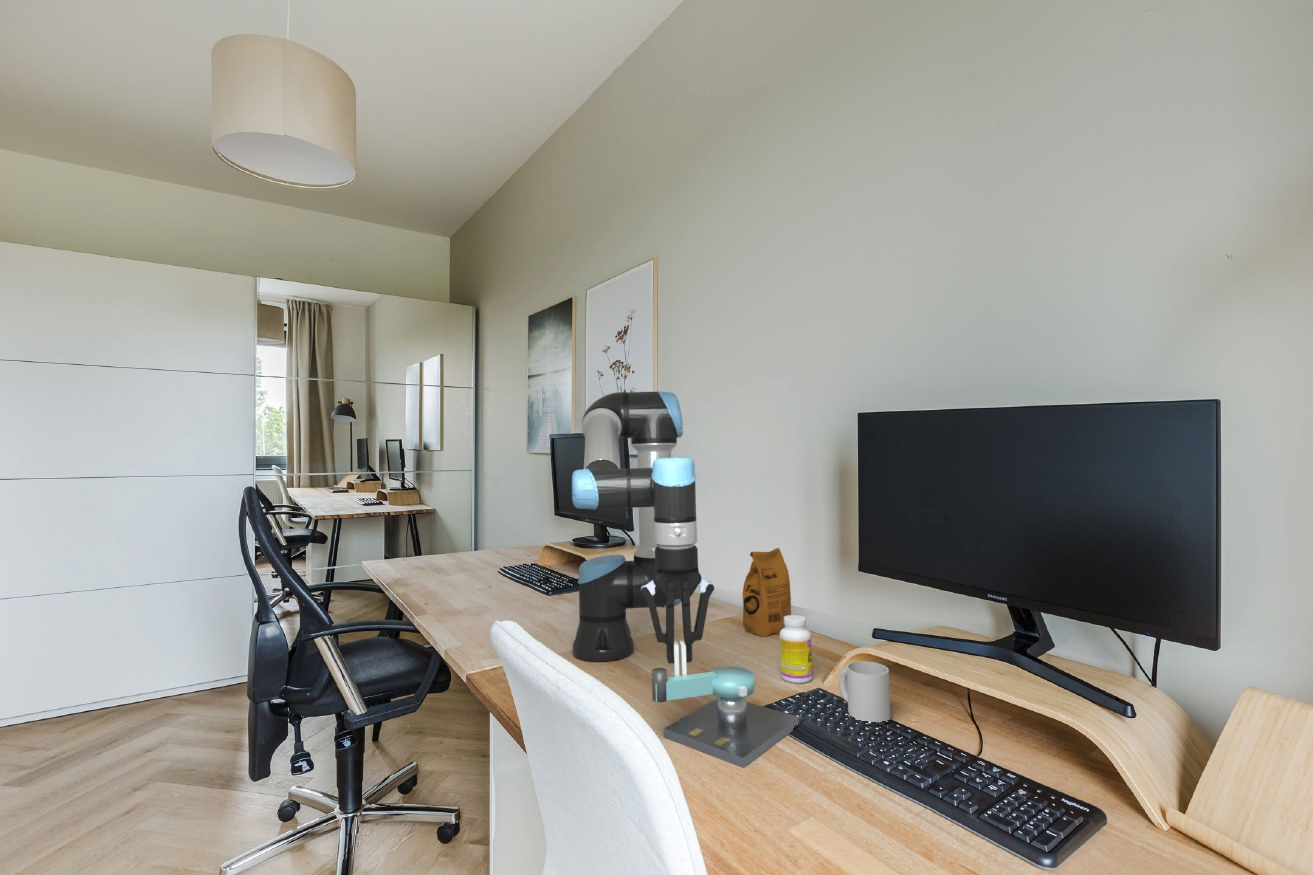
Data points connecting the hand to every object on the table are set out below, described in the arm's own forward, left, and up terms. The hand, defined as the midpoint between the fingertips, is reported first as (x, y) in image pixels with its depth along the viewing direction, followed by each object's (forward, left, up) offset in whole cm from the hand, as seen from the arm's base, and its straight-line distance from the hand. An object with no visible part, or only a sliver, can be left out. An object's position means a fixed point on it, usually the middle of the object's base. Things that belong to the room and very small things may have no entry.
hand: (680, 680), depth 102 cm
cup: (+22, +26, -9) cm, 35 cm away
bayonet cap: (+4, +1, -2) cm, 5 cm away
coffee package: (-19, +62, -9) cm, 65 cm away
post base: (+7, +6, -9) cm, 13 cm away
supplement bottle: (+4, +35, -9) cm, 36 cm away
